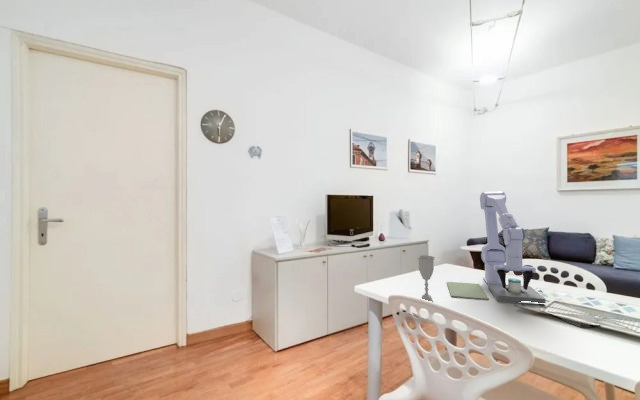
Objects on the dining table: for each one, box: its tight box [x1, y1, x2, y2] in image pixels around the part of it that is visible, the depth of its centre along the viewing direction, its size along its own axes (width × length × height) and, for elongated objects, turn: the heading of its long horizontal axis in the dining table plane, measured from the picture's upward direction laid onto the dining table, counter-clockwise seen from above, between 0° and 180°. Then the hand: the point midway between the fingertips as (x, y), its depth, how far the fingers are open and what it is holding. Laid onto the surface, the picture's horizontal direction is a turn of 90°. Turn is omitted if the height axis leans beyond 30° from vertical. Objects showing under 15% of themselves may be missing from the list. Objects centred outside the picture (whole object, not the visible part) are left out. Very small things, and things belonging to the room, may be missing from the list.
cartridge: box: [507, 278, 522, 293], centre depth 121 cm, size 4×4×7 cm
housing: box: [488, 283, 546, 304], centre depth 121 cm, size 16×16×2 cm
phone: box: [561, 319, 593, 329], centre depth 100 cm, size 8×1×15 cm
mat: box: [446, 281, 490, 301], centre depth 129 cm, size 20×14×1 cm
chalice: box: [417, 255, 435, 303], centre depth 118 cm, size 7×7×18 cm
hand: (514, 288), depth 121 cm, fingers open, 7 cm apart
